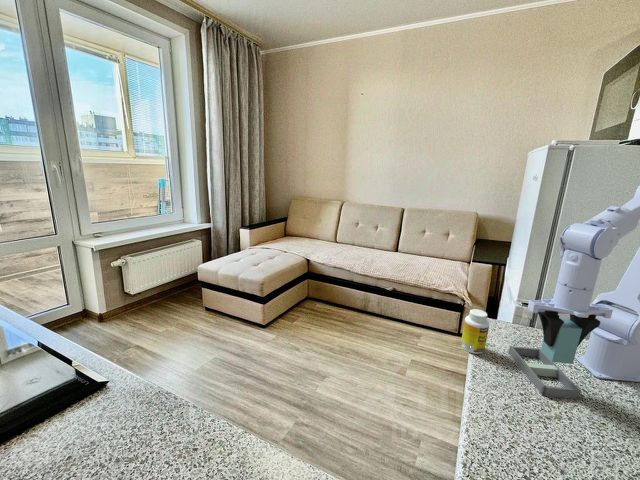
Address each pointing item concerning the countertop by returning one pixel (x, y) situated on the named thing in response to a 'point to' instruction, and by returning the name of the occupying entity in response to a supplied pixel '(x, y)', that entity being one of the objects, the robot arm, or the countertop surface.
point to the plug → (564, 343)
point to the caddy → (544, 373)
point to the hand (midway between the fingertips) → (559, 344)
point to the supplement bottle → (475, 331)
